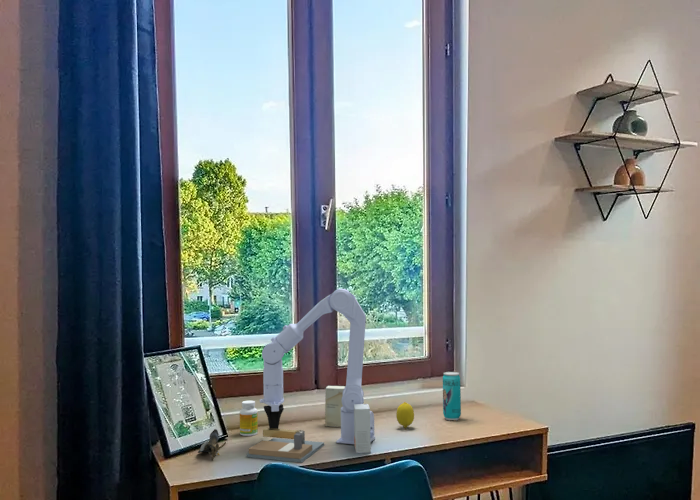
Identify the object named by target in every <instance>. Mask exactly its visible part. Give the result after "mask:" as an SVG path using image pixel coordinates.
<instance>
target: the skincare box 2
mask: <svg viewBox="0 0 700 500" xmlns="http://www.w3.org/2000/svg"><path fill="white" fill-rule="evenodd" d="M370 411H371V408H370V405H369V404H368V403H363V404H354V444H353V445H354V449H355V453H356V454H368V453H371V452H372V451H371V450H372V448H371V447H372V446H371V443H372V442H371V441H370Z"/></svg>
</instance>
